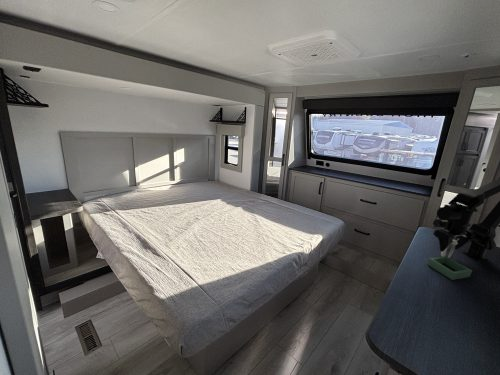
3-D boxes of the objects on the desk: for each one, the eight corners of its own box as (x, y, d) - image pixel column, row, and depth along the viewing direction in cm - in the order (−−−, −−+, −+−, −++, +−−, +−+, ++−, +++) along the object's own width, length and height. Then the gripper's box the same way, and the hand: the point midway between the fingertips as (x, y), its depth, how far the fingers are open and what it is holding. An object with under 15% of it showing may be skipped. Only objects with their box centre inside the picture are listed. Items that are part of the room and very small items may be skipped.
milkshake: (455, 259, 102) (463, 240, 99) (444, 258, 102) (451, 239, 99) (447, 254, 106) (454, 235, 103) (436, 253, 106) (443, 234, 103)
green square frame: (443, 261, 99) (445, 256, 99) (469, 276, 90) (472, 270, 89) (427, 264, 97) (429, 258, 96) (452, 279, 88) (454, 273, 87)
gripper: (455, 211, 108) (444, 239, 113) (426, 213, 103) (417, 242, 108) (483, 221, 98) (470, 251, 102) (453, 224, 93) (441, 255, 97)
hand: (448, 250), depth 103 cm, fingers open, 9 cm apart
